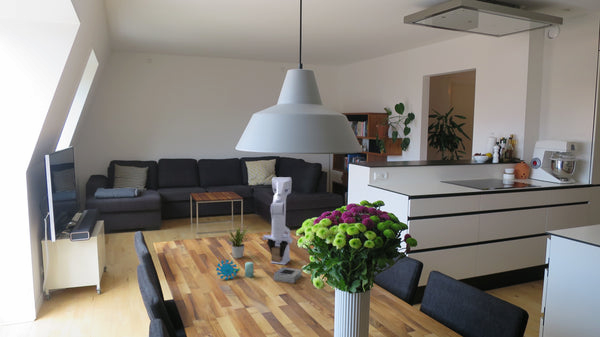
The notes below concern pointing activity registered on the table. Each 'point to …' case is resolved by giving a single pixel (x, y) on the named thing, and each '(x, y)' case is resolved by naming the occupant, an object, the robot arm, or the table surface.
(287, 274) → the socket block
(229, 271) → the blue virus model
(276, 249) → the square bit
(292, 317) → the table surface
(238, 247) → the house plant
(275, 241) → the robot arm
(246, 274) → the round dowel
